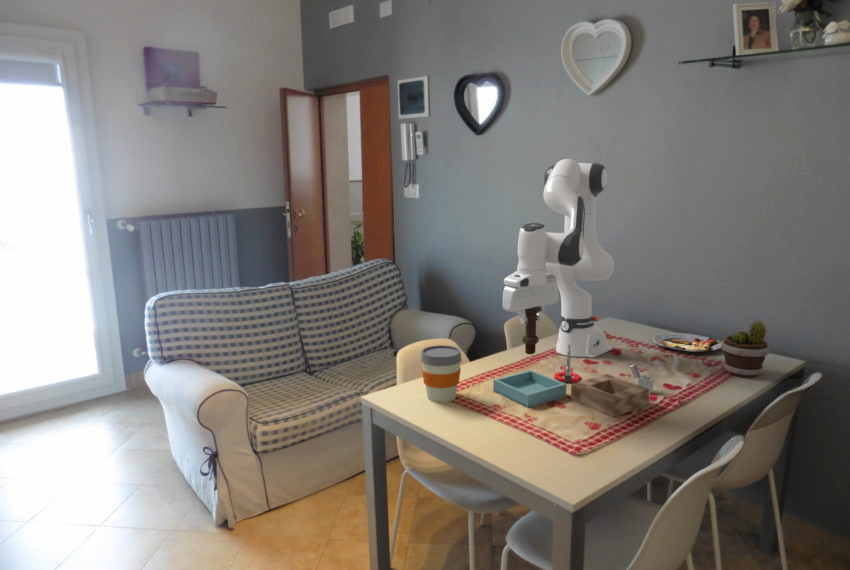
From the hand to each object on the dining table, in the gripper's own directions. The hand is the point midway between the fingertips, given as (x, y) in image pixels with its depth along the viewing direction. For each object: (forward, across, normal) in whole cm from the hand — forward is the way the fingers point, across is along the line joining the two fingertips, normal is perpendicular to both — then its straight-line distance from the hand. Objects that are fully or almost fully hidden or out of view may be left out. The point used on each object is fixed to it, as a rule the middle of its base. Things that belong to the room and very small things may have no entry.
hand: (530, 321), depth 187 cm
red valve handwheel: (+24, -20, -3) cm, 31 cm away
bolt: (+10, 0, 0) cm, 10 cm away
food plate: (+24, -85, -1) cm, 88 cm away
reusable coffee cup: (+24, +24, -14) cm, 37 cm away
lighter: (+24, -31, +18) cm, 43 cm away
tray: (+24, 0, 0) cm, 24 cm away
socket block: (+24, -15, +19) cm, 34 cm away
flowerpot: (+24, -72, +28) cm, 81 cm away
